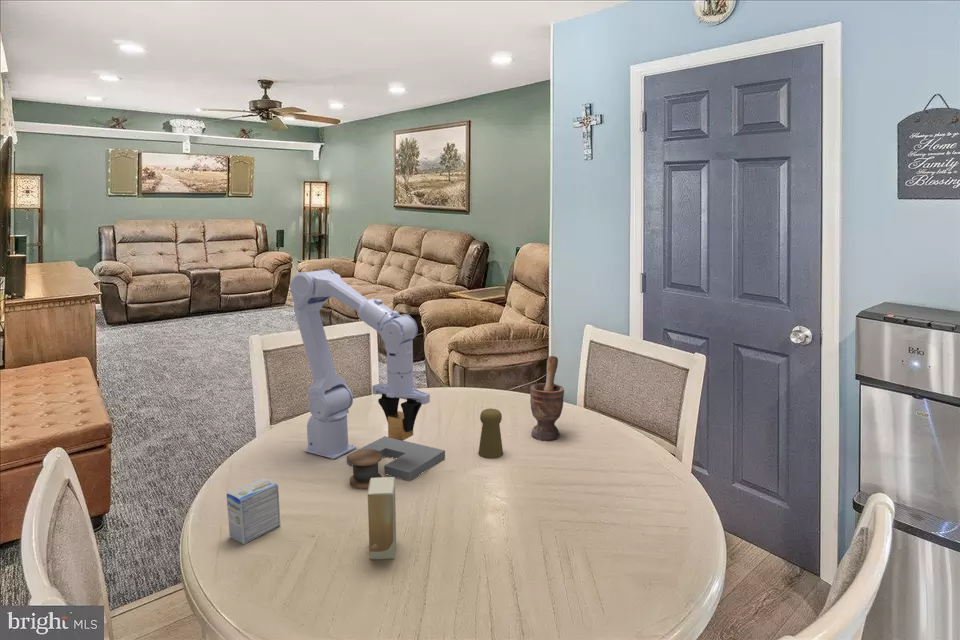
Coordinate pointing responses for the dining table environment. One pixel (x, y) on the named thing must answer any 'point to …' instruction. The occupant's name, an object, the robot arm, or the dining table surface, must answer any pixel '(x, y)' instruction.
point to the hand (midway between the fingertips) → (401, 428)
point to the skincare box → (382, 518)
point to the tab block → (397, 427)
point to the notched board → (405, 457)
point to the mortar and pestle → (547, 404)
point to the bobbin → (364, 467)
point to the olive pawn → (490, 434)
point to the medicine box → (253, 510)
